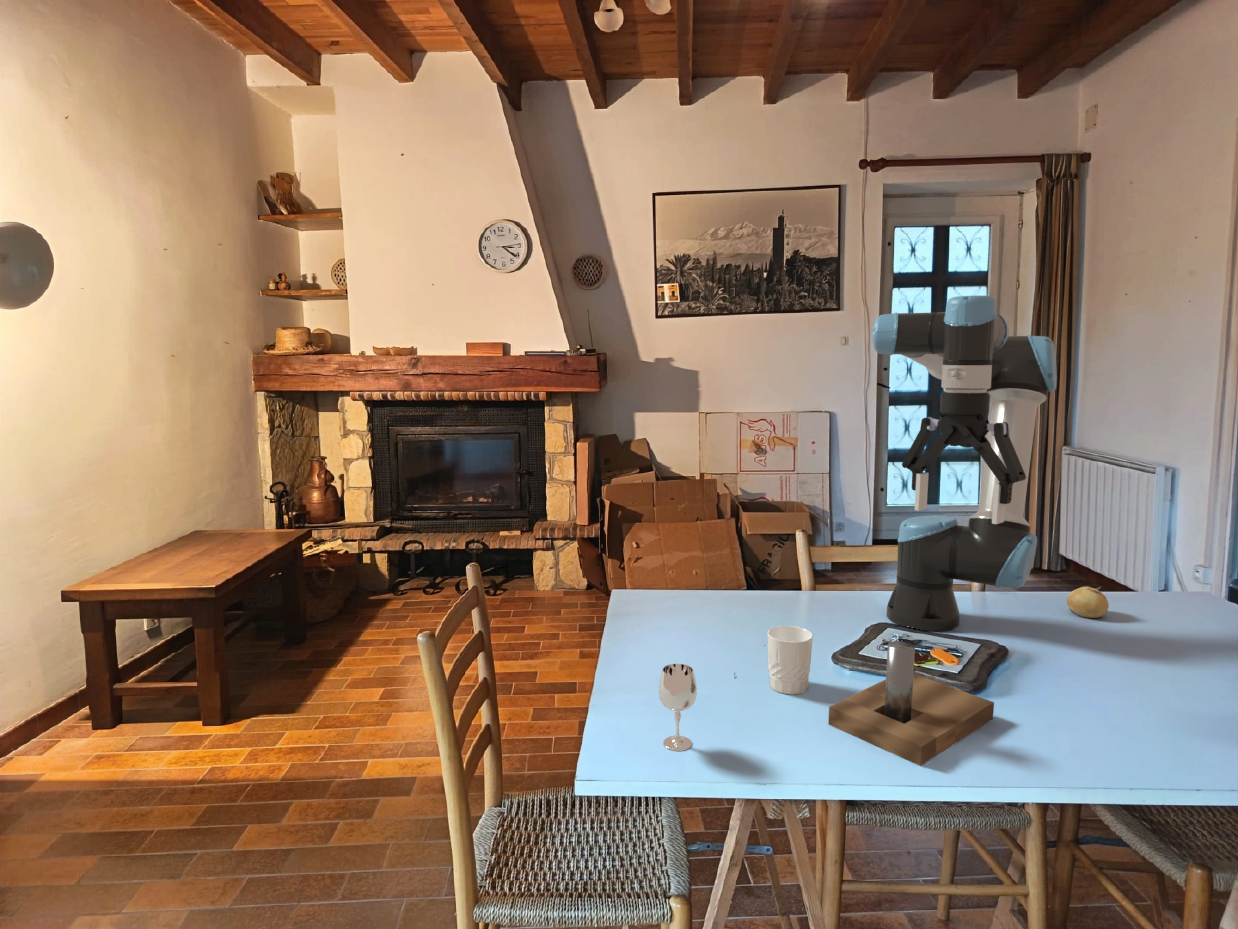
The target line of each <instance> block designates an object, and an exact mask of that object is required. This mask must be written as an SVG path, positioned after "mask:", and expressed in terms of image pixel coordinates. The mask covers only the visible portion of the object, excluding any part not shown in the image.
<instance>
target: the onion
mask: <svg viewBox="0 0 1238 929" xmlns="http://www.w3.org/2000/svg"><path fill="white" fill-rule="evenodd" d="M1101 587H1102V586H1100V587H1097V588H1093V587H1091V586H1081V587H1079V588H1076V589H1074V590H1072V591H1071V592H1070V593H1069V594H1068V596H1067V598H1066V604H1067V606H1068V609H1069V610H1070V612H1071V613H1072V614H1075V615H1077V616H1079V617H1081V618H1089V619H1094V618H1095V619H1096V618H1100V617H1103V616H1105V615H1106V614H1107V612H1108V609H1109V601H1108V597H1107V596H1105V595H1104V594H1103V592H1102V591H1101V590H1099V589H1101Z"/></svg>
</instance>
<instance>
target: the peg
mask: <svg viewBox="0 0 1238 929" xmlns="http://www.w3.org/2000/svg"><path fill="white" fill-rule="evenodd" d="M886 653H887V656H886V674H885V679H886V692H885V713H884V716H887V717H889V718H891V719H894V720H896V721H899V722H901V723H904V724H905V723H907V722H909V721H910V720H911V713H912V695H913V676H914V674H915V672H914V671H915V657H916V656H915V655H916V654H915V653H916V647H915V645H914V644H912V643H910V642H907V641H900V640H897V641H896V640H895V641H894V640H893V641H890V642H888V643H887V652H886Z"/></svg>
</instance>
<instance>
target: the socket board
mask: <svg viewBox="0 0 1238 929" xmlns="http://www.w3.org/2000/svg"><path fill="white" fill-rule="evenodd" d="M885 692H886V678H885V679H884V680H882V681H879V682H878V683H875V684H873V685H871V686H869V687H867V688H865V689H863V690H861V691H859V692H857V693H855V694H853V695H851V696H848V697H846V698H844V699H843V700H840V701H838V702H836V703H834V704H832V705H830V706H829V707H828V720H827V721H828V725H829V726H832V727H834V728H837V730H838V729H839V730H840V731H842V732H844V733H847V734H849V735H851V736H854V737H856V738H857V739H860V740H863V741H864V742H866V743H869V744H871V745H874V746H875V747H877V748H880V749H881V750H885V751H886V752H889V753H891V754H893V755H895V756H898V757H899V758H902V759H904V760H907V761H909V762H910V763H913V764H915V765H917V766H920V767H921V766H923V765H924V764H926V763H928V762H929V761H930V760H932V759H933V758H935V757H936V756H939V754H941V753H943V752H944V751H946V750H947V749H949V748H950V747H952V746H954V745H956V744H957V743H958V742H960V741H962V740H963V739H964V738H966V737H968V736H970V735H971V734H972V733H974V732H976V731H977V730H979V729H980V728H982V727H983V726H985V725H987V724H988V723H989V722H991V721H993V720H994V711H995V710H994V709H995V708H994V707H995V701H992V700H989V699H986V698H984V697H981V696H977V695H975V694H972V693H969V692H965V691H963V690H960V689H958V688H955V687H952V686H950V685H947V684H944V683H941V682H938V681H935V680H933V679H930V678H927V677H923V676H921V675H918V674H917V673H916V674H915V673H914V676H913V695H912V713H911V720H910V721H909V722H907V723H905V724H904V723H901V722H899V721H896V720H894V719H891V718H889V717H887V716H884V713H885Z"/></svg>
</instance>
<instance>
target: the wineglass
mask: <svg viewBox="0 0 1238 929" xmlns="http://www.w3.org/2000/svg"><path fill="white" fill-rule="evenodd" d="M697 689H698V688H697V680H696V676H695V671H694V668H693V667H691V666H690V665H687V664H683V663H670V664H667V665H665V666H664V667H662V671H661V674H660V679H659V684H658V694H659V700H660V702H661V704H662V705H663V706H664V707H665V708H666V709H668V710H670V711H672V712H673V711H674V720H675V735H671V736H668V737H665V739H663V743H662V744H663V746H664V747H665V748H666V749H668V750H670V751H673V752H682V751H686V750H689V749H690V748H692V746H693V742H692V740H691V739H690V738H688V737H686V736H684V735H683V736H682V735H680V721H681V718H682V714H681V712H684V711H686V710H687V711H688V709H690V708H692V706H694V704H695V702H696V700H697V696H698V695H697Z"/></svg>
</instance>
